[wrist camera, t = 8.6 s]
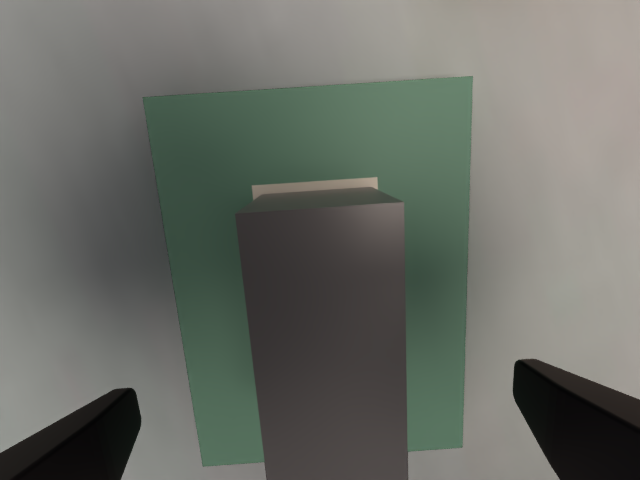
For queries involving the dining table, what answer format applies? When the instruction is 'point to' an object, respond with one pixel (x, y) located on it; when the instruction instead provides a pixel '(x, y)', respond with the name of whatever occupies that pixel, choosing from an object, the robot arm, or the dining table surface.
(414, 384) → the board
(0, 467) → the robot arm
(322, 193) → the plug block
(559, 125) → the dining table surface
